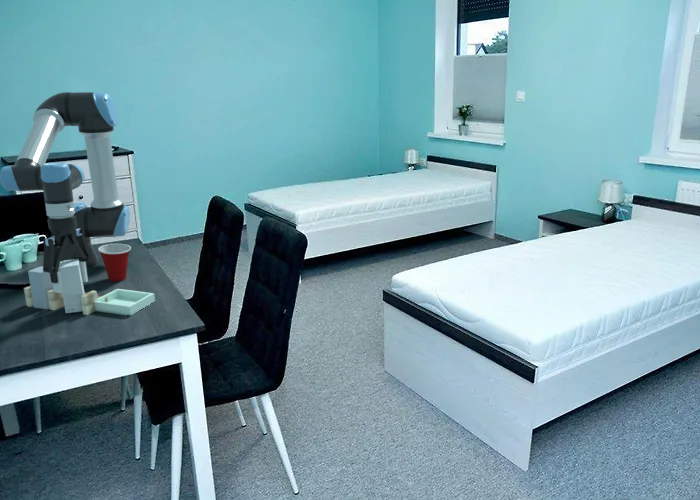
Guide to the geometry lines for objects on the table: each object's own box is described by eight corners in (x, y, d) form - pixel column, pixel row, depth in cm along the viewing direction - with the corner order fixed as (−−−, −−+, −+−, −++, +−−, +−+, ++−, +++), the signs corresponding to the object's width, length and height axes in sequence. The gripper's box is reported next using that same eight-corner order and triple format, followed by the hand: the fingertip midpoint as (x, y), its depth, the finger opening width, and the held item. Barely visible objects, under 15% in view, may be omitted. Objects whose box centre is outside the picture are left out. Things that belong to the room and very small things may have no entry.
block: (46, 301, 179) (40, 266, 176) (59, 303, 178) (53, 267, 174) (33, 307, 175) (27, 271, 171) (46, 309, 173) (41, 272, 170)
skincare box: (86, 311, 171) (79, 265, 166) (64, 314, 168) (57, 268, 164) (86, 301, 178) (79, 257, 174) (65, 304, 176) (58, 259, 171)
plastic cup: (120, 285, 194) (116, 252, 191) (95, 282, 197) (91, 249, 194) (140, 276, 204) (137, 244, 201) (116, 272, 207) (113, 241, 204)
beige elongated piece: (48, 296, 184) (46, 279, 182) (108, 304, 177) (106, 286, 176) (26, 306, 175) (23, 288, 174) (87, 315, 169) (85, 296, 167)
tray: (118, 297, 184) (117, 288, 183) (155, 302, 180) (154, 293, 179) (92, 310, 173) (91, 301, 172) (131, 316, 169) (130, 306, 168)
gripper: (41, 225, 154) (53, 300, 160) (98, 209, 174) (106, 276, 180) (20, 223, 156) (32, 297, 162) (78, 207, 176) (87, 274, 183)
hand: (71, 286), depth 171 cm, fingers closed on skincare box, 9 cm apart
